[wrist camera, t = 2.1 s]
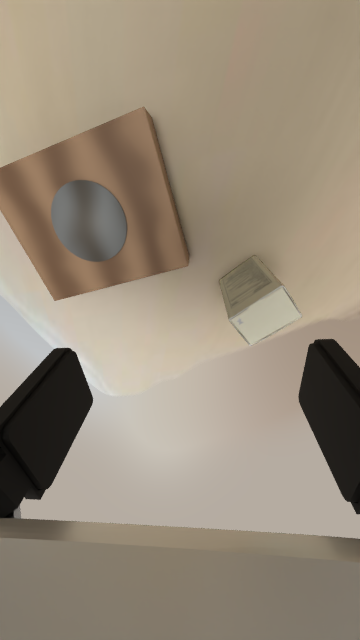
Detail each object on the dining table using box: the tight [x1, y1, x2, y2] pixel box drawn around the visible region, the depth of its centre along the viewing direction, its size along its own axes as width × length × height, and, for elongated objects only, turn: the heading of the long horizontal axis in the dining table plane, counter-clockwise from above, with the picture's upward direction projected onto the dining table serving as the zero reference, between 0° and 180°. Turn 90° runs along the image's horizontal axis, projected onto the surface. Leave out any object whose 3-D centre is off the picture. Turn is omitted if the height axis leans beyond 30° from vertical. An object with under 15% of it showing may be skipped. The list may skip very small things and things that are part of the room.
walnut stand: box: [0, 107, 189, 301], centre depth 29 cm, size 20×16×4 cm
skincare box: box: [219, 255, 302, 346], centre depth 29 cm, size 6×4×12 cm
